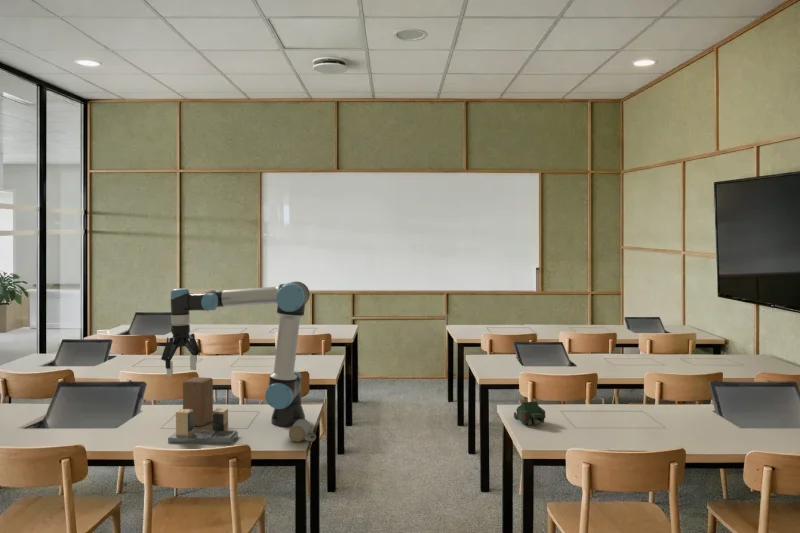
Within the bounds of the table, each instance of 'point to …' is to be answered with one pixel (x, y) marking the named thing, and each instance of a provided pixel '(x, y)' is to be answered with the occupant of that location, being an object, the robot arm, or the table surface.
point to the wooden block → (199, 399)
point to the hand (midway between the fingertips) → (181, 372)
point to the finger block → (220, 419)
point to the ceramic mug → (301, 431)
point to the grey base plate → (189, 436)
